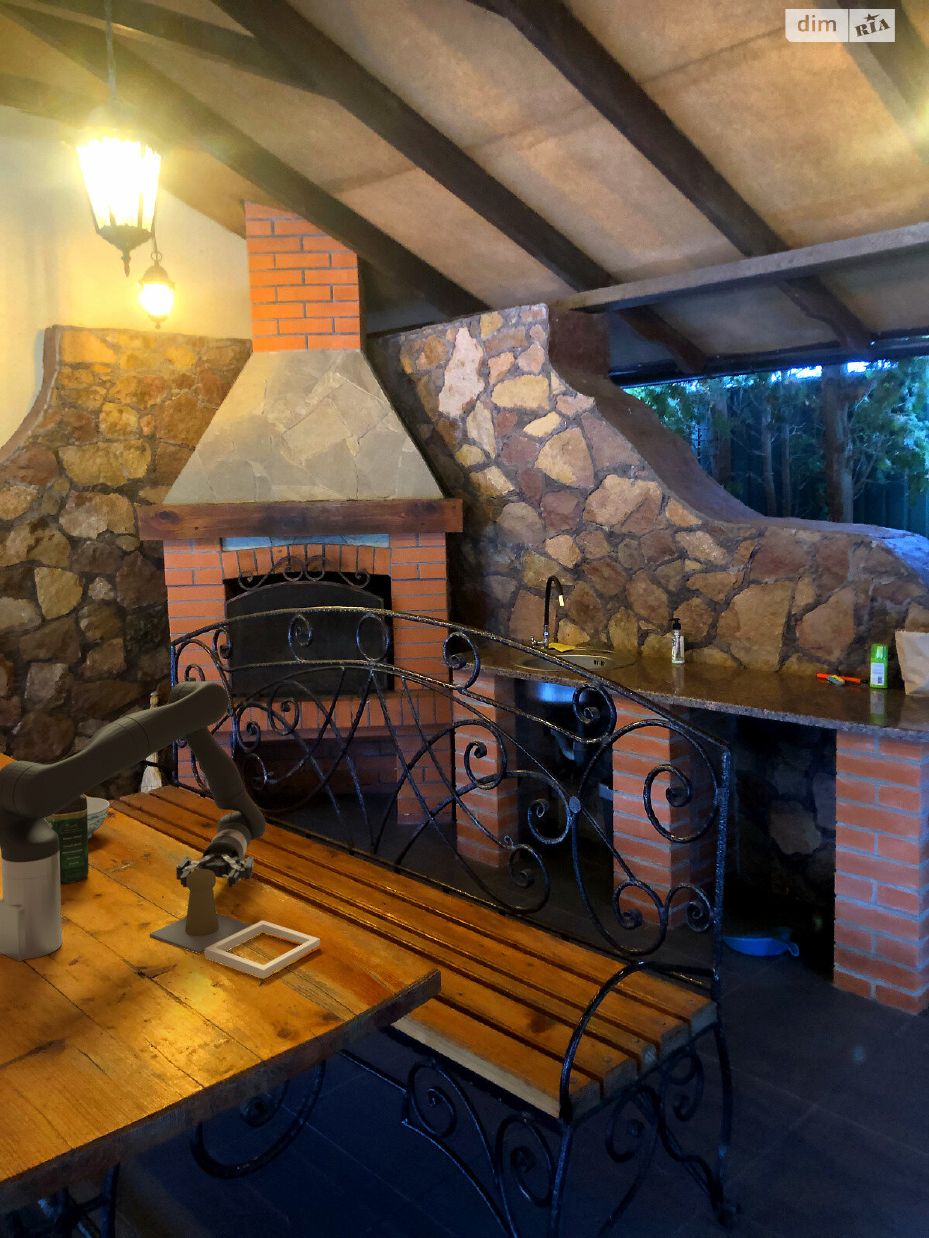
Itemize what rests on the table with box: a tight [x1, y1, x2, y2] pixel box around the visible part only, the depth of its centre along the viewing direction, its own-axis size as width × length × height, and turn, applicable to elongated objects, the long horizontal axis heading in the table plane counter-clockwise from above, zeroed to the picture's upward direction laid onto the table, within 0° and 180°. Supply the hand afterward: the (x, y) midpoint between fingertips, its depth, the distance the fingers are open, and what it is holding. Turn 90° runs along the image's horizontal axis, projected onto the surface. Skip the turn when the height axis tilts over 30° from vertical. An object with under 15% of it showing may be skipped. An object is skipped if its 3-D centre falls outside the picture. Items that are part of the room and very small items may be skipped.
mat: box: [149, 913, 253, 954], centre depth 170 cm, size 13×13×1 cm
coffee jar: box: [46, 793, 90, 884], centre depth 195 cm, size 10×8×19 cm
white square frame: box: [204, 920, 321, 978], centre depth 162 cm, size 14×14×2 cm
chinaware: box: [44, 796, 110, 840], centre depth 220 cm, size 15×15×8 cm
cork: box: [185, 869, 219, 936], centre depth 170 cm, size 6×6×11 cm
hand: (207, 882), depth 174 cm, fingers open, 8 cm apart
